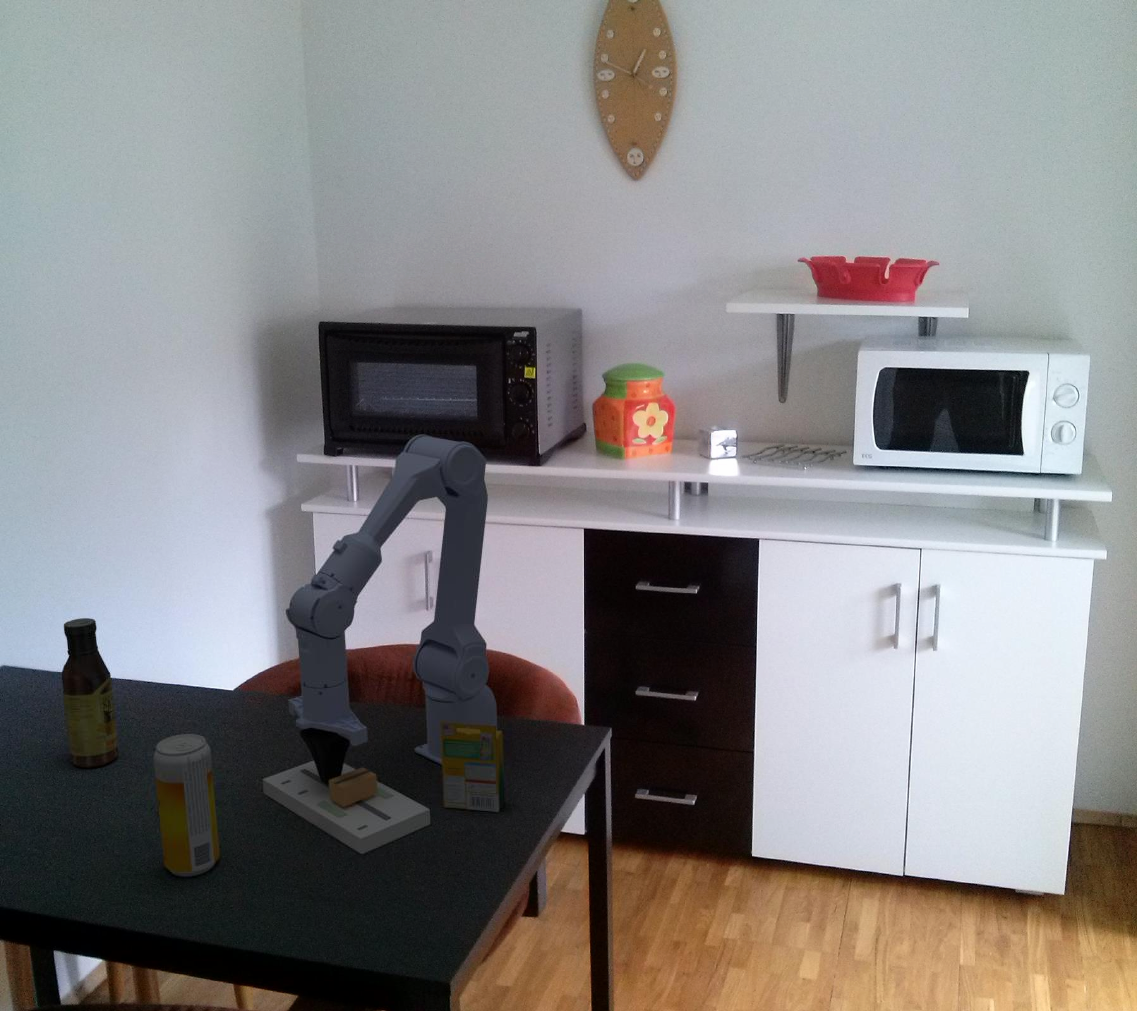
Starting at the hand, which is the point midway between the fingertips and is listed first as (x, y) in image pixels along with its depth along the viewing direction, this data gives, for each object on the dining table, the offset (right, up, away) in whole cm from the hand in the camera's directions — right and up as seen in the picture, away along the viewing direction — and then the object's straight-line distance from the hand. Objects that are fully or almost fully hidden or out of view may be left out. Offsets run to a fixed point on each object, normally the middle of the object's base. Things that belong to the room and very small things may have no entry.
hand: (330, 781), depth 151 cm
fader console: (+2, -3, -1) cm, 4 cm away
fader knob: (+4, -1, -3) cm, 5 cm away
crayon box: (+18, -3, -1) cm, 19 cm away
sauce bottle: (-35, 0, +14) cm, 38 cm away
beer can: (-13, -7, -14) cm, 20 cm away
